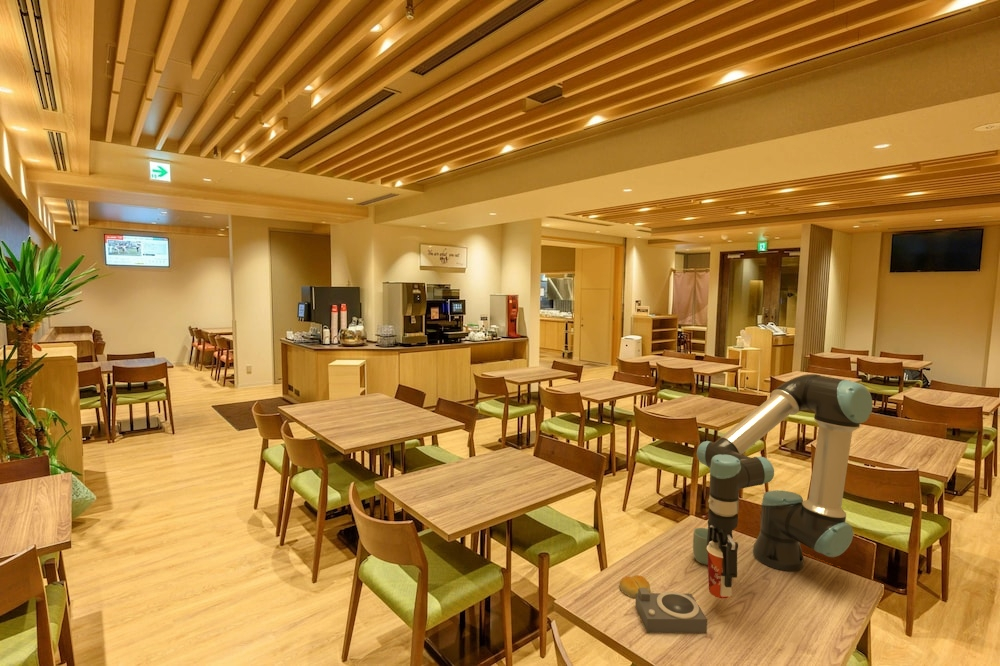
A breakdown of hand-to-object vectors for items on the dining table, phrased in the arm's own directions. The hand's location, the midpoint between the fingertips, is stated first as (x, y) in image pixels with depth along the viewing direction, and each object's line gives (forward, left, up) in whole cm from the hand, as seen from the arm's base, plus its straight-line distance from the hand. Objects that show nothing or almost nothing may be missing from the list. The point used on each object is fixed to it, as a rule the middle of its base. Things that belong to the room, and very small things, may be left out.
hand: (719, 587), depth 142 cm
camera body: (+16, +4, -7) cm, 18 cm away
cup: (-6, -25, -7) cm, 27 cm away
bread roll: (+21, -9, -7) cm, 24 cm away
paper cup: (0, 0, -2) cm, 2 cm away
